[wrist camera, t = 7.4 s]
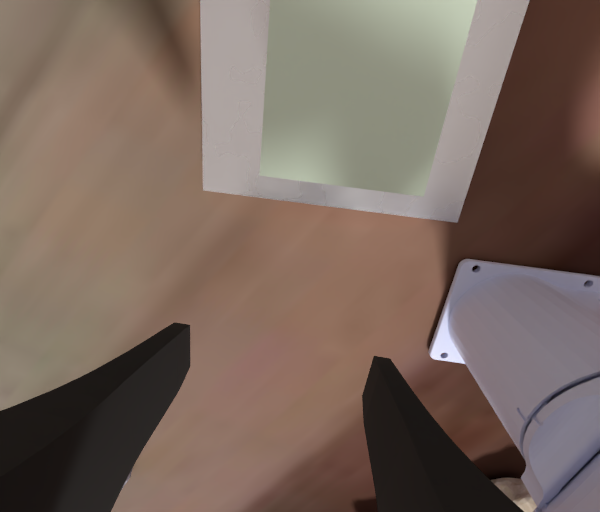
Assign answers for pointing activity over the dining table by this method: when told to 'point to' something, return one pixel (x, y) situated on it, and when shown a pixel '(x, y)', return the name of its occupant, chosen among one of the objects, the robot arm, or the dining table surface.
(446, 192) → the base plate
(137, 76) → the dining table surface
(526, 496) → the cream rock
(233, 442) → the dining table surface
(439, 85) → the block
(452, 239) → the dining table surface
